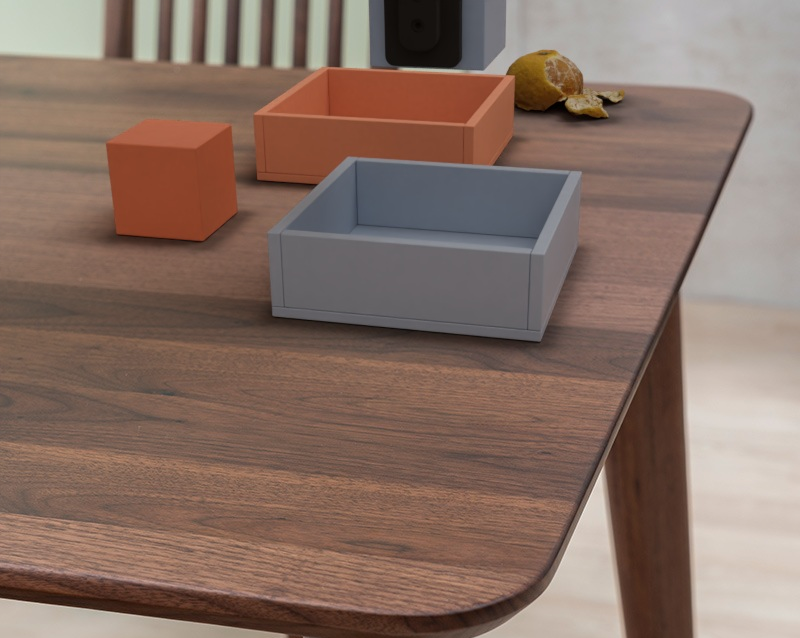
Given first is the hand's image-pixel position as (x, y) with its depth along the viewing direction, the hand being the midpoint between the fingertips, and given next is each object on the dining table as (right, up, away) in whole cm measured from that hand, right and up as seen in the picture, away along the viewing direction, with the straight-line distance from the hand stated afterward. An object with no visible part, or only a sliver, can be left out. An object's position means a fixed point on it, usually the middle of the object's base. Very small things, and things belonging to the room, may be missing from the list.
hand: (439, 47), depth 55 cm
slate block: (0, 0, 0) cm, 0 cm away
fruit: (+10, +5, +35) cm, 37 cm away
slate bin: (0, -10, +5) cm, 11 cm away
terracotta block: (-14, -6, +13) cm, 20 cm away
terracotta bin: (-2, 0, +24) cm, 24 cm away
